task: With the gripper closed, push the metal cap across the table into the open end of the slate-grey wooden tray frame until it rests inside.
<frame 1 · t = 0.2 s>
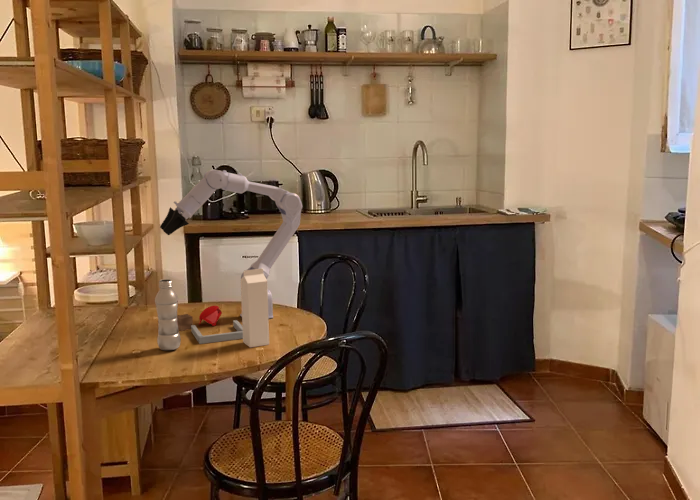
hand: (163, 231, 214), 31 cm above the table, tool tilted 45°, fingers open, 7 cm apart
cap: (210, 325, 221), on the table
tray frame: (218, 334, 210), on the table
plastic bottle: (169, 350, 196), on the table
milk: (256, 344, 201), on the table
walnut block: (184, 328, 217), on the table
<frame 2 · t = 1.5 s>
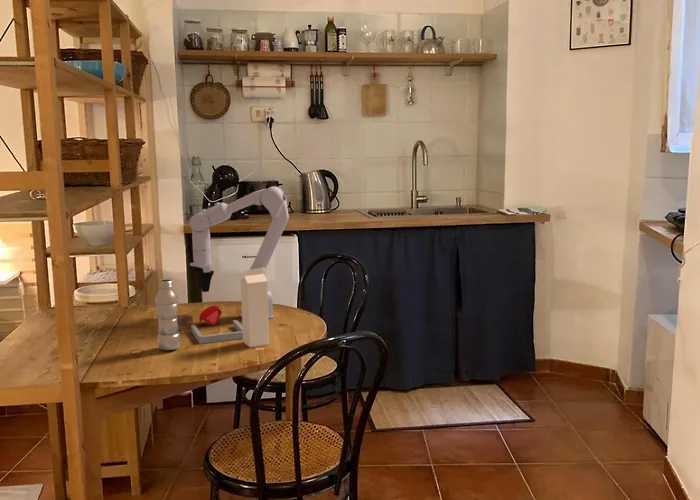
hand: (203, 289, 228), 9 cm above the table, tool pointing down, fingers open, 5 cm apart
nothing on the table moved.
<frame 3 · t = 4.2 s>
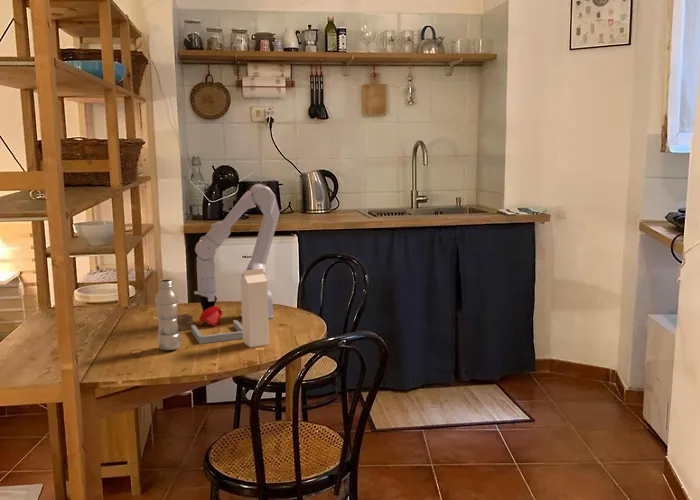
hand: (208, 318, 224), 1 cm above the table, tool pointing down, fingers closed
cap: (211, 325, 220), on the table, touching gripper
everything else where it was.
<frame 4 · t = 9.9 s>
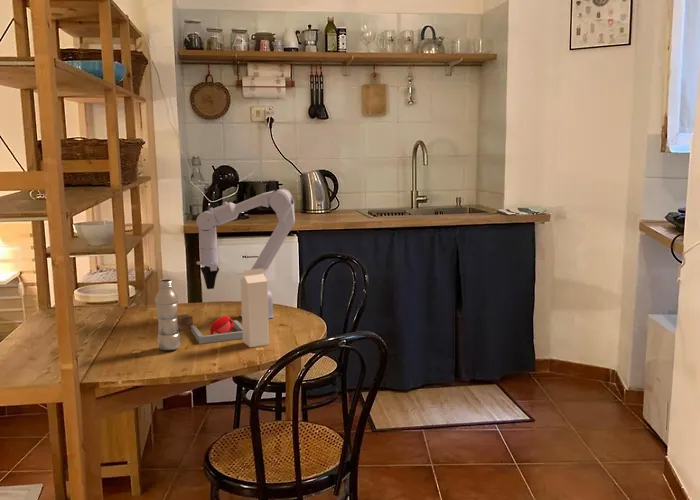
hand: (210, 288, 228), 10 cm above the table, tool pointing down, fingers closed
cap: (221, 336, 208), on the table
everything else where it was.
at the end: cap inside the target area (2.1 cm from its centre), on the table; cap moved 14.5 cm from its start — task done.
